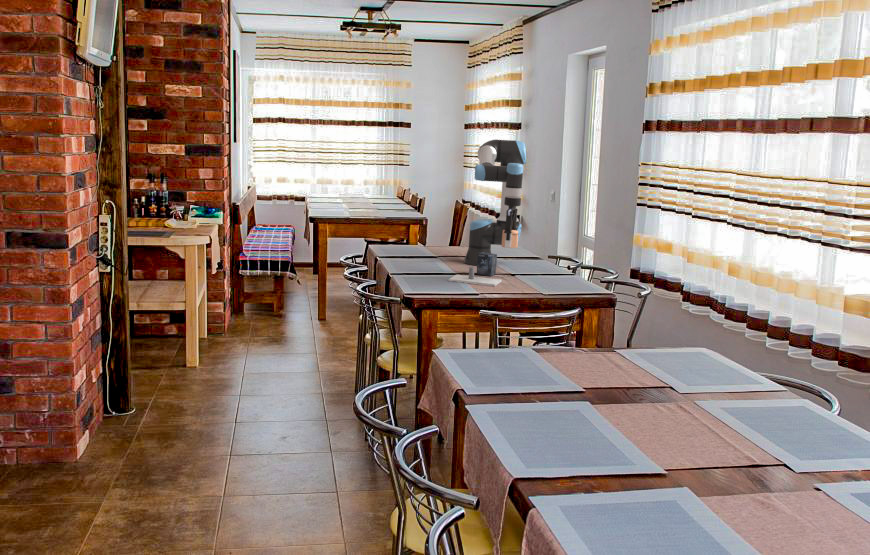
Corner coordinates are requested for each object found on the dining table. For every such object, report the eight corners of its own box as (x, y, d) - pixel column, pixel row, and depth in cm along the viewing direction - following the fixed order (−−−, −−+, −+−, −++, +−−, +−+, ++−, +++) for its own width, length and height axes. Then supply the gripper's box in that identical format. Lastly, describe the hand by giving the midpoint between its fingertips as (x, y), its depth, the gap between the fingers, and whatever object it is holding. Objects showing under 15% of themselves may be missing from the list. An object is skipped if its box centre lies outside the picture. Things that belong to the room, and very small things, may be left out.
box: (476, 274, 412) (477, 253, 410) (481, 273, 417) (482, 251, 415) (490, 276, 408) (492, 255, 406) (495, 275, 413) (497, 253, 411)
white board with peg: (456, 276, 403) (457, 263, 402) (501, 281, 396) (502, 268, 395) (448, 281, 391) (449, 267, 390) (494, 286, 384) (495, 272, 383)
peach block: (503, 244, 398) (504, 227, 397) (518, 246, 396) (519, 229, 395) (500, 246, 392) (501, 229, 390) (515, 248, 390) (516, 231, 388)
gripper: (509, 194, 400) (506, 242, 404) (500, 197, 381) (496, 248, 385) (525, 196, 398) (521, 244, 402) (516, 199, 379) (513, 249, 383)
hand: (509, 246), depth 394 cm, fingers closed on peach block, 7 cm apart
